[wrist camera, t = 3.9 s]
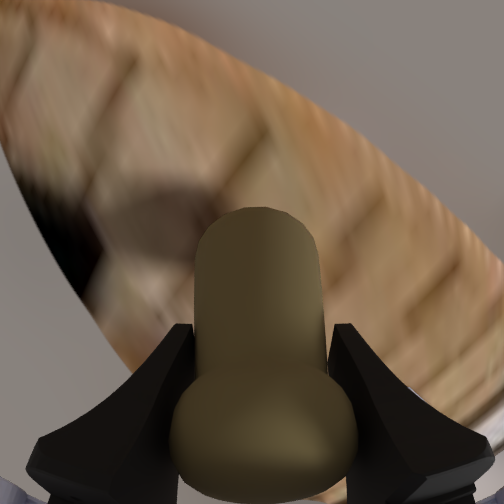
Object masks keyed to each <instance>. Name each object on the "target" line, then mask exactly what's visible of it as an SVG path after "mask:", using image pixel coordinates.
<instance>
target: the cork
mask: <svg viewBox="0 0 504 504" xmlns="http://www.w3.org/2000/svg"><path fill="white" fill-rule="evenodd" d="M194 350H195V381H194V382H193V383H192V384H191V385H190V386H189V387H188V388H187V389H186V390H185V391H184V392H183V393H182V395H181V397H180V399H179V401H178V403H177V405H176V407H175V409H174V412H173V418H172V423H171V428H170V433H169V439H168V443H169V450H170V458H171V460H172V462H173V464H174V466H175V468H176V469H177V471H178V473H179V475H180V476H181V478H182V479H183V481H184V482H185V483H186V484H188V485H189V486H191V487H192V488H194V489H195V490H197V491H199V492H201V493H202V494H204V495H206V496H209V497H212V498H215V499H218V500H222V501H227V502H233V503H241V504H277V503H285V502H290V501H296V500H300V499H304V498H308V497H312V496H314V495H317V494H319V493H322V492H324V491H326V490H328V489H329V488H331V487H332V486H333V485H335V484H336V483H338V482H339V481H340V480H342V479H343V478H344V477H345V476H346V475H347V473H348V471H349V470H350V468H351V466H352V463H353V461H354V459H355V457H356V454H357V452H358V441H359V431H358V427H357V423H356V419H355V415H354V411H353V407H352V404H351V402H350V400H349V398H348V397H347V395H346V394H345V392H344V390H343V389H342V387H341V386H340V385H338V384H337V383H336V382H335V381H334V380H333V379H332V378H331V377H330V376H329V375H328V369H327V352H326V336H325V322H324V310H323V298H322V287H321V276H320V266H319V256H318V251H317V248H316V245H315V241H314V238H313V236H312V235H311V234H310V232H309V231H308V230H307V229H306V227H305V226H304V225H303V223H301V222H300V221H298V220H297V219H295V218H294V217H292V216H291V215H289V214H288V213H286V212H283V211H279V210H275V209H272V208H268V207H248V208H242V209H239V210H236V211H233V212H230V213H227V214H225V215H223V216H222V217H221V218H219V219H218V220H217V221H215V222H214V223H213V224H211V225H210V226H209V227H208V228H207V230H206V231H205V233H204V234H203V236H202V237H201V239H200V240H199V242H198V247H197V251H196V256H195V281H194Z"/></svg>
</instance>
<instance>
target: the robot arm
mask: <svg viewBox="0 0 504 504" xmlns="http://www.w3.org/2000/svg"><path fill="white" fill-rule="evenodd" d="M327 365H328V375H329V376H330V377H331V378H332V379H333V380H334V381H335V382H336V383H337V384H338V385H340V386H341V387H342V389H343V390H344V392H345V394H346V395H347V397H348V398H349V400H350V402H351V404H352V407H353V411H354V415H355V419H356V423H357V427H358V431H359V441H358V452H357V454H356V457H355V459H354V461H353V463H352V466H351V468H350V470H349V471H348V473H347V475H346V484H347V504H504V486H503V487H502V488H501V489H499V490H498V491H497V492H496V493H495V494H493V495H491V496H489V497H487V498H485V499H483V500H480V501H478V502H476V503H475V500H474V497H473V493H474V492H475V491H476V487H475V484H474V482H475V481H476V480H477V479H479V478H480V477H481V476H482V475H483V474H484V473H485V472H487V471H488V470H489V469H490V467H491V466H492V465H493V463H494V461H495V456H494V454H493V451H492V449H491V446H490V444H489V442H488V440H487V438H486V437H485V436H483V435H481V434H479V433H477V432H475V431H472V430H470V429H468V428H466V427H464V426H462V425H460V424H459V423H457V422H455V421H453V420H452V419H450V418H448V417H447V416H445V415H443V414H442V413H440V412H439V411H437V410H436V409H435V408H433V407H432V406H430V405H429V404H428V403H426V402H425V401H424V400H423V399H422V398H421V397H420V396H418V395H417V394H416V393H415V392H414V391H413V390H412V389H411V388H409V387H407V386H406V385H405V384H403V383H402V382H401V381H400V380H399V379H398V378H397V377H396V376H395V375H394V374H393V373H392V372H391V370H390V369H389V368H388V367H387V366H386V365H385V364H384V363H383V362H382V360H381V359H380V358H379V357H378V356H377V355H376V354H375V352H374V351H373V350H372V349H371V348H370V346H369V345H368V344H367V343H366V341H365V340H364V339H363V338H362V336H361V335H360V334H359V333H358V331H357V330H356V329H355V328H354V326H353V325H352V324H351V323H348V324H335V325H334V331H333V336H332V341H331V347H330V352H329V357H328V362H327ZM194 381H195V350H194V332H193V326H192V324H177V323H176V324H175V325H174V326H173V327H172V328H171V330H170V331H169V332H168V334H167V335H166V336H165V337H164V339H163V340H162V341H161V343H160V344H159V345H158V346H157V347H156V349H155V350H154V351H153V352H152V353H151V355H150V356H149V357H148V358H147V359H146V361H145V362H144V363H143V364H142V365H141V366H140V367H139V368H138V369H137V370H136V371H135V372H134V373H133V374H132V376H131V377H130V378H129V379H128V380H127V381H126V382H125V383H124V384H123V385H121V386H120V387H119V388H118V389H117V390H116V391H115V392H113V393H112V394H111V395H110V396H109V397H108V398H106V399H105V400H104V401H103V402H101V403H100V404H98V405H97V406H96V407H94V408H93V409H92V410H90V411H89V412H87V413H86V414H84V415H83V416H81V417H79V418H78V419H76V420H74V421H73V422H71V423H69V424H67V425H66V426H64V427H62V428H60V429H58V430H55V431H54V432H51V433H49V434H47V435H45V436H43V437H40V438H39V439H38V441H37V443H36V445H35V447H34V449H33V451H32V454H31V456H30V459H29V461H28V463H27V466H26V471H27V473H28V475H29V476H30V477H31V478H32V479H33V480H34V481H35V482H37V483H38V484H39V485H40V486H41V487H43V488H44V489H45V490H46V491H48V492H49V493H50V494H51V495H50V498H49V501H48V503H46V502H43V501H41V500H39V499H36V498H34V497H32V496H30V495H28V494H27V493H26V492H25V491H24V490H22V489H21V488H19V487H18V486H17V485H15V484H13V483H12V482H10V481H8V480H6V479H4V478H2V477H0V504H177V489H178V478H179V477H178V476H179V473H178V471H177V469H176V468H175V466H174V464H173V462H172V460H171V458H170V450H169V443H168V439H169V433H170V428H171V423H172V418H173V412H174V409H175V407H176V405H177V403H178V401H179V399H180V397H181V395H182V393H183V392H184V391H185V390H186V389H187V388H188V387H189V386H190V385H191V384H192V383H193V382H194Z"/></svg>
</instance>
